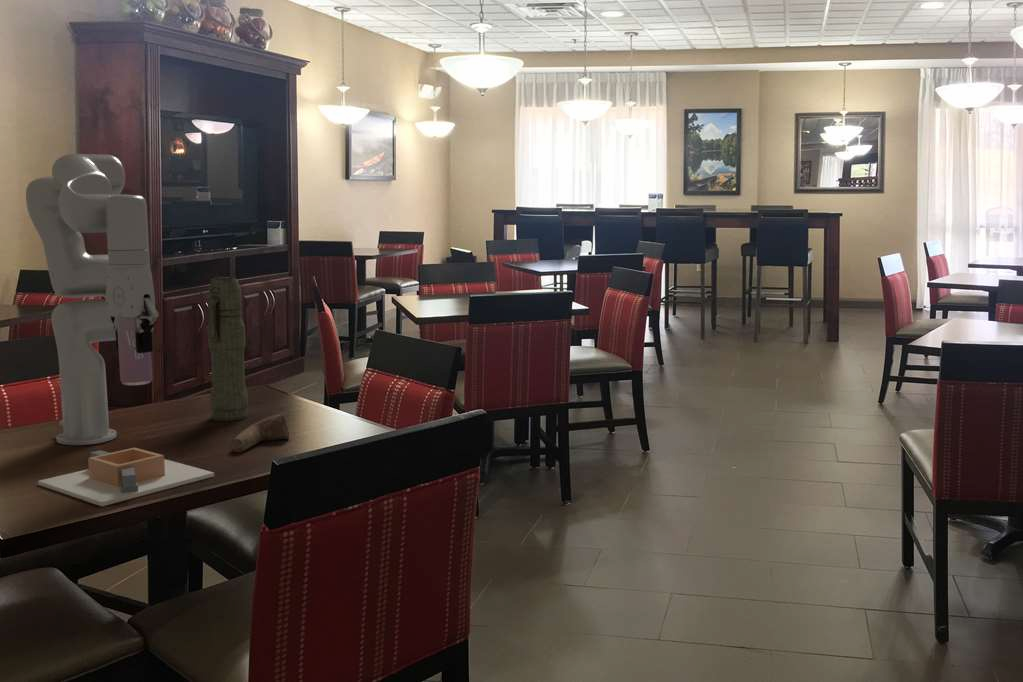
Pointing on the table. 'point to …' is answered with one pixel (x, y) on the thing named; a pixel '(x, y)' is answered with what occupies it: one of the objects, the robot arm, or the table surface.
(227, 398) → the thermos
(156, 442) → the table surface
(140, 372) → the beverage can
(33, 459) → the table surface
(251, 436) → the pipe
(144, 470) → the white board with box
